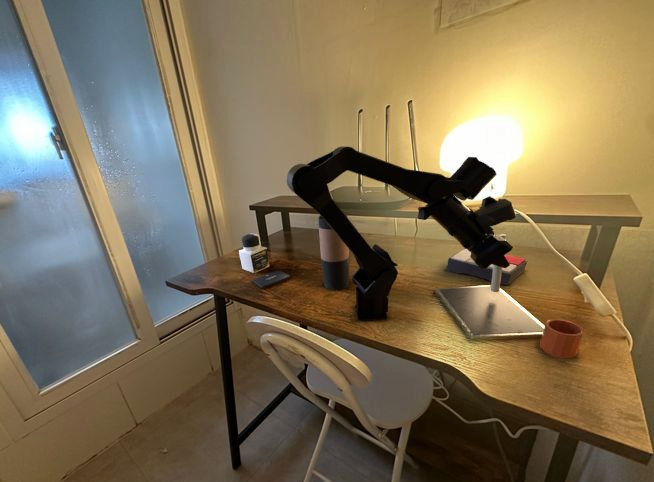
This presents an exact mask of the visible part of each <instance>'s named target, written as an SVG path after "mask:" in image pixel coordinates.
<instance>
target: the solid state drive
mask: <svg viewBox="0 0 654 482" xmlns="http://www.w3.org/2000/svg"><path fill="white" fill-rule="evenodd" d="M290 278H291V276H290V275H289V274H288V273H285V272H283V271H282V270H280V269H277V270H274V271H272V272H269V273H267V274H263V275H261V276H259V277H256V278H255V277H254V278H253V279H252V282H253V283H254V284H255V285H257V286H258V287H260V288H261V289H265V288H268V287H270V286H273V285H276V284H278V283H281V282H283V281H286V280H289V279H290Z"/></svg>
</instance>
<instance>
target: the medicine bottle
mask: <svg viewBox="0 0 654 482" xmlns="http://www.w3.org/2000/svg"><path fill="white" fill-rule="evenodd" d="M241 243H242V249H239V250H238V253H239V259H240V263H241V269H242V270H244V271H247V272H250V273H252V274H256V273H258V272H261V271H262V270H265V269H267V268H269V267H270V258H269V254H268V248H267V247H266V246H262V244H261V237H260V235H259V234H257V233H247V234H245V235H243V236H242V237H241Z"/></svg>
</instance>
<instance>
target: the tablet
mask: <svg viewBox="0 0 654 482" xmlns="http://www.w3.org/2000/svg"><path fill="white" fill-rule="evenodd" d="M434 293H435V294H436V296H437V298H439V299H440V300H441V301H442V303H443V304H444V305H445V306H446V308H447V309H448V310H449V312H450V313H451V314H452V316H453V317H454V319H455V320H456V321H457V322H458V324H459V325H460V327H461V328H462V330H463V331H464V332H465V333H466V335H467V336H468V337H469V339H470V340H471V341H473V340H474V341H475V340H499V339H524V338H525V339H526V338H527V339H528V338H541V337H542V334H543V331H544V327H545V324H543V323H542V322H541V321H539V319H538V318H536V317H535V316H534V315H532V314H531V313H530V312H529V311H528V310H527V309H526V308H524V307H523V306H522V305H521V304H520V303H518V302H517V301H516V300H515V299H514V298H513V297H511V296H510V295H509V294H508V293H507V292H505V290H504V289H502V288H501V287H500V290H499V292H492V291H491V284H488V285H486V284H485V285H471V286H455V287H439V288H434Z"/></svg>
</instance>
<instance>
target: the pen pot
mask: <svg viewBox="0 0 654 482" xmlns="http://www.w3.org/2000/svg"><path fill="white" fill-rule="evenodd" d="M544 326H545V327H544V331H543V334H542V337H540V340H539V347H540V349H541V350H542V351H544V352H545V353H546V354H548V355H550V356H553V357H555V358H560V359H561V358H562V359H572V358H575V357H576V356H577V354H578V352H579V349H580V346H581V344H582V340H583V338H584V335H585V333H586V331H585V329H584V327H582V326H581V325H579V324H578V323H576V322H573V321H569V320H565V319H561V318H560V319H559V318H553V319H549V320H547V321H546V322H545V324H544Z"/></svg>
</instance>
